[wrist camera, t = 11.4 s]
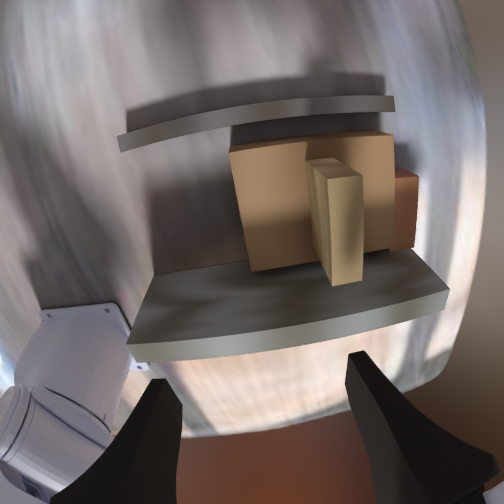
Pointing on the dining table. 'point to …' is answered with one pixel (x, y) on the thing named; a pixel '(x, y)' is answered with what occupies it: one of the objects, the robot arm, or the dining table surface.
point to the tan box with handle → (316, 200)
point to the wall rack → (281, 270)
